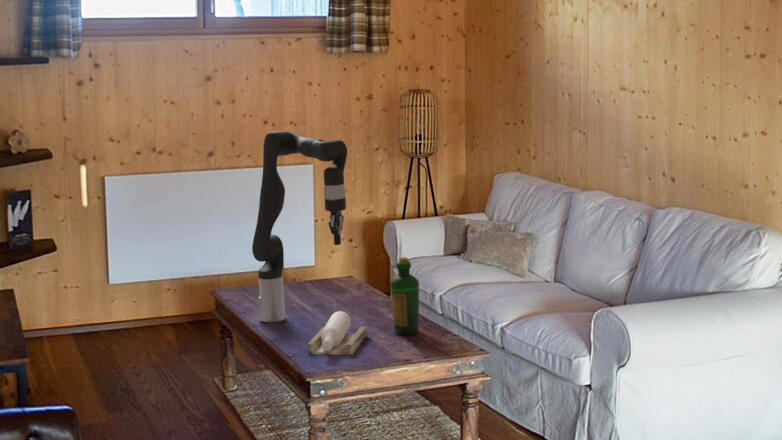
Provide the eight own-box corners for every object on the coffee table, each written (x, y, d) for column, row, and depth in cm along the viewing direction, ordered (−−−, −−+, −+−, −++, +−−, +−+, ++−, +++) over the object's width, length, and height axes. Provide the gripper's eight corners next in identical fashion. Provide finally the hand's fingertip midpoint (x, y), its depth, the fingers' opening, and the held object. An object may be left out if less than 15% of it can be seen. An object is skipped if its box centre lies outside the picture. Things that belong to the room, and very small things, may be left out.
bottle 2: (391, 329, 402) (387, 256, 397) (419, 327, 403) (416, 254, 398) (393, 337, 392) (389, 262, 387) (422, 335, 392) (419, 260, 387)
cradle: (308, 354, 377) (307, 344, 377) (324, 335, 398) (323, 326, 398) (352, 354, 374) (352, 344, 373) (366, 336, 395) (366, 326, 395)
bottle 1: (355, 319, 398) (342, 344, 369) (342, 335, 400) (329, 361, 371) (338, 306, 398) (324, 330, 369) (325, 322, 400) (310, 347, 371)
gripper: (329, 193, 392) (332, 240, 395) (319, 200, 379) (322, 248, 382) (349, 193, 390) (352, 240, 393) (340, 199, 378) (343, 248, 381)
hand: (337, 244), depth 388 cm, fingers closed
